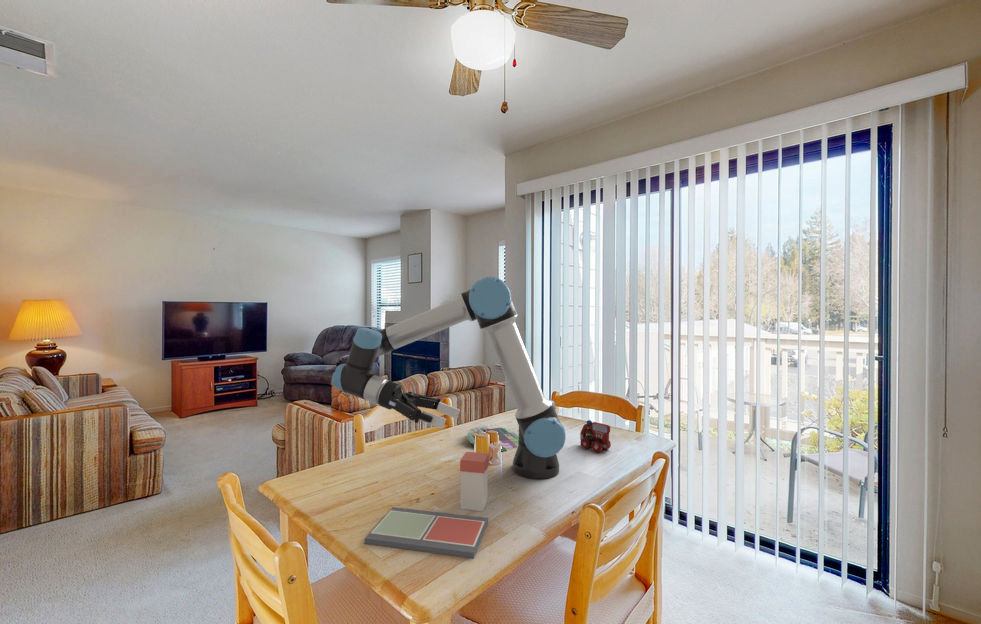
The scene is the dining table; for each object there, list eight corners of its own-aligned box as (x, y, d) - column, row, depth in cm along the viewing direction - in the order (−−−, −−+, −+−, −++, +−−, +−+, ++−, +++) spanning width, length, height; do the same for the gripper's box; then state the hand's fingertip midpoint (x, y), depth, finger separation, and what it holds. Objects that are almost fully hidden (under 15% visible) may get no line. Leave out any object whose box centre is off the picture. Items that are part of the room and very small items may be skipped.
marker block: (488, 500, 116) (489, 453, 116) (483, 511, 110) (484, 461, 110) (465, 498, 118) (466, 451, 117) (459, 509, 111) (460, 459, 111)
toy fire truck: (586, 442, 167) (587, 416, 167) (614, 451, 158) (615, 423, 158) (575, 446, 163) (576, 419, 163) (603, 455, 153) (604, 426, 153)
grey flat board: (487, 522, 105) (488, 517, 104) (473, 558, 90) (473, 551, 90) (392, 511, 109) (392, 506, 109) (364, 543, 95) (364, 537, 95)
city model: (496, 464, 149) (498, 448, 148) (450, 441, 164) (452, 426, 163) (537, 448, 168) (539, 433, 167) (492, 429, 183) (494, 415, 182)
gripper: (397, 398, 134) (459, 422, 130) (358, 413, 109) (432, 443, 105) (404, 376, 134) (466, 399, 130) (367, 385, 109) (442, 414, 105)
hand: (451, 418), depth 117 cm, fingers open, 13 cm apart
